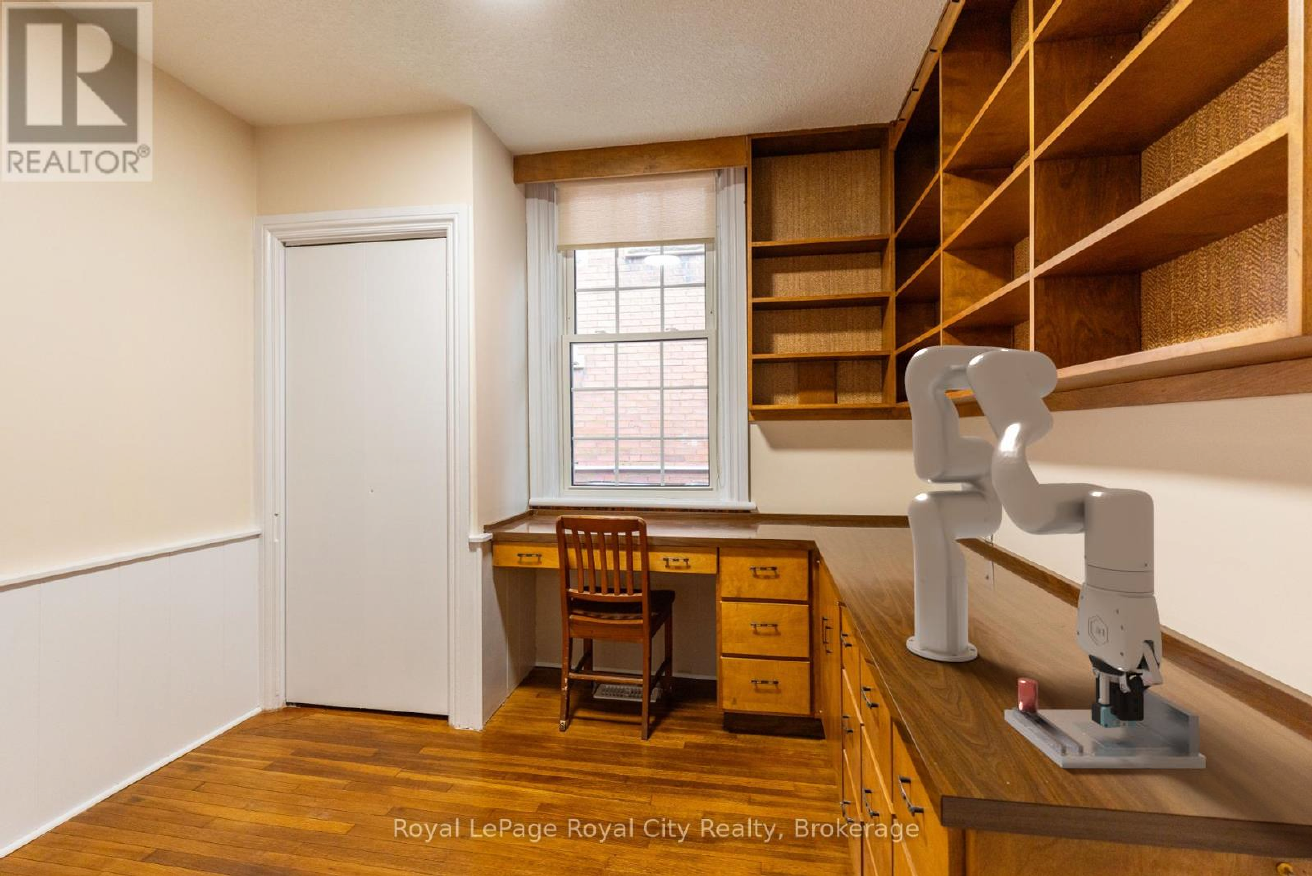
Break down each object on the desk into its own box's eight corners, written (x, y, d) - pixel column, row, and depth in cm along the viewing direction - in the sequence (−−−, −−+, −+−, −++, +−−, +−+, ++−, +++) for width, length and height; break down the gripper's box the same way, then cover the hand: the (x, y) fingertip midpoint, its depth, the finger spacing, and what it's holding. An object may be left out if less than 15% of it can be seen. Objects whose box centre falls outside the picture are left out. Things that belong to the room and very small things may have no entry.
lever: (1013, 710, 88) (1013, 677, 88) (1030, 710, 88) (1029, 677, 88) (1025, 720, 85) (1025, 685, 85) (1042, 720, 85) (1042, 685, 85)
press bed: (1004, 719, 89) (1004, 676, 89) (1126, 719, 88) (1126, 676, 88) (1061, 768, 76) (1061, 717, 76) (1205, 768, 75) (1205, 717, 75)
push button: (1124, 713, 84) (1124, 643, 84) (1159, 732, 79) (1159, 657, 79) (1080, 716, 83) (1080, 645, 83) (1113, 735, 78) (1112, 659, 78)
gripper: (1051, 566, 89) (1052, 687, 89) (1137, 595, 73) (1138, 744, 73) (1102, 565, 89) (1103, 687, 89) (1200, 595, 73) (1200, 744, 73)
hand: (1119, 711), depth 81 cm, fingers closed on push button, 3 cm apart
